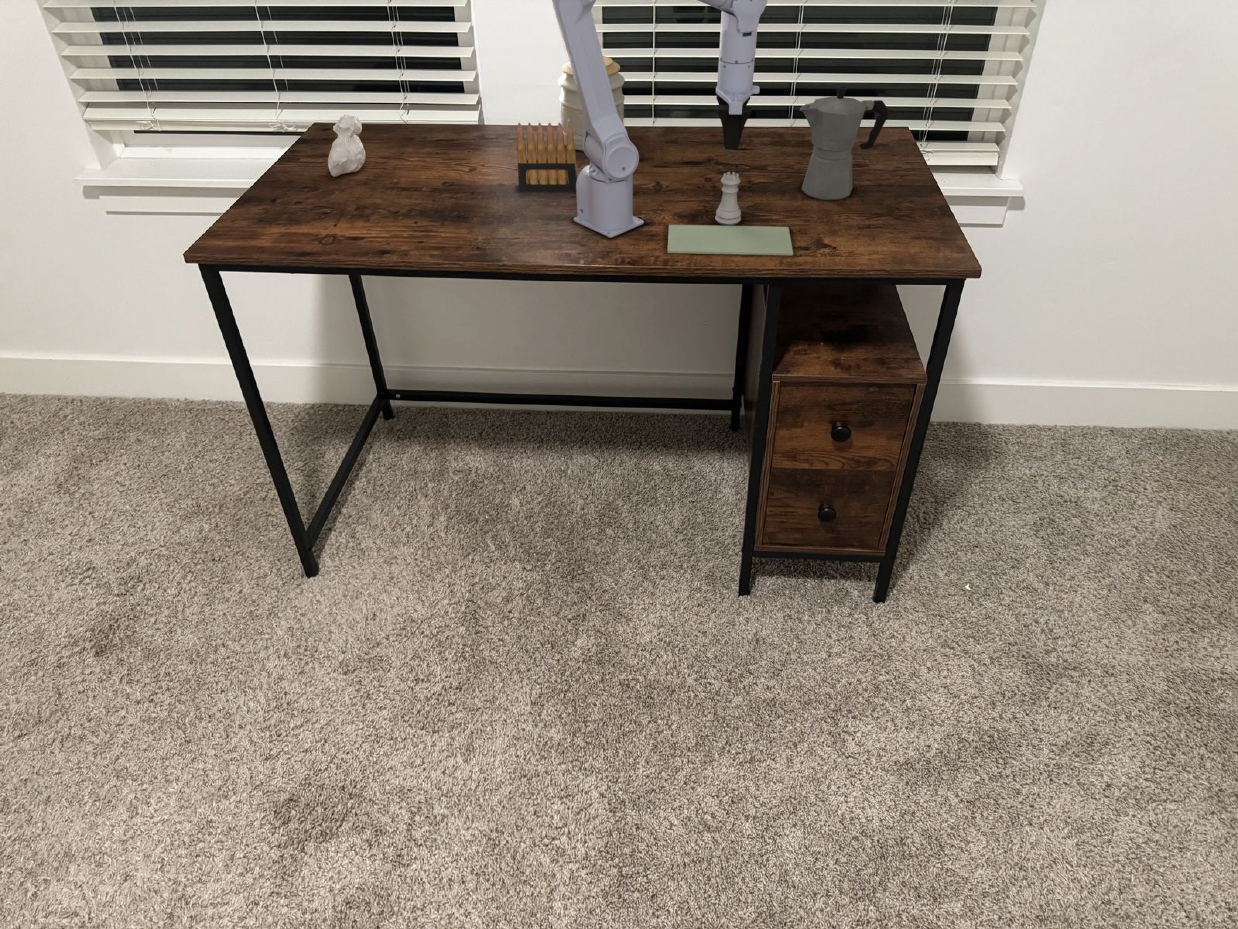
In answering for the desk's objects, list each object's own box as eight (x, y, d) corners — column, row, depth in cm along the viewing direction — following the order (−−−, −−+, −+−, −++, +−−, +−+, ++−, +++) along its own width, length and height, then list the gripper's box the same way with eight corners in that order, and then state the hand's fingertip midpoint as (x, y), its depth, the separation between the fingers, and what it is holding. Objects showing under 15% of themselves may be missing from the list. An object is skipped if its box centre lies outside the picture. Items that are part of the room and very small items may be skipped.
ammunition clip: (578, 186, 163) (575, 120, 155) (577, 191, 162) (574, 124, 154) (520, 186, 163) (514, 120, 156) (518, 190, 162) (513, 124, 154)
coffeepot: (795, 201, 157) (808, 96, 145) (785, 180, 164) (797, 78, 152) (881, 199, 157) (901, 94, 145) (868, 178, 164) (886, 76, 153)
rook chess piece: (724, 212, 154) (727, 167, 149) (746, 219, 152) (750, 173, 146) (709, 221, 151) (712, 175, 146) (731, 228, 149) (734, 182, 144)
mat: (667, 252, 142) (667, 250, 142) (668, 226, 150) (668, 224, 150) (793, 255, 141) (793, 253, 141) (788, 228, 149) (788, 226, 148)
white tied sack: (344, 193, 167) (370, 146, 161) (307, 168, 165) (333, 120, 159) (362, 168, 176) (388, 123, 170) (327, 145, 174) (352, 98, 168)
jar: (624, 152, 176) (624, 57, 164) (559, 152, 176) (554, 58, 164) (625, 129, 185) (624, 38, 174) (563, 129, 186) (558, 38, 174)
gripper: (764, 72, 136) (756, 160, 145) (759, 45, 147) (752, 128, 156) (718, 72, 136) (713, 159, 145) (716, 45, 147) (712, 128, 156)
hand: (730, 143), depth 150 cm, fingers open, 4 cm apart
